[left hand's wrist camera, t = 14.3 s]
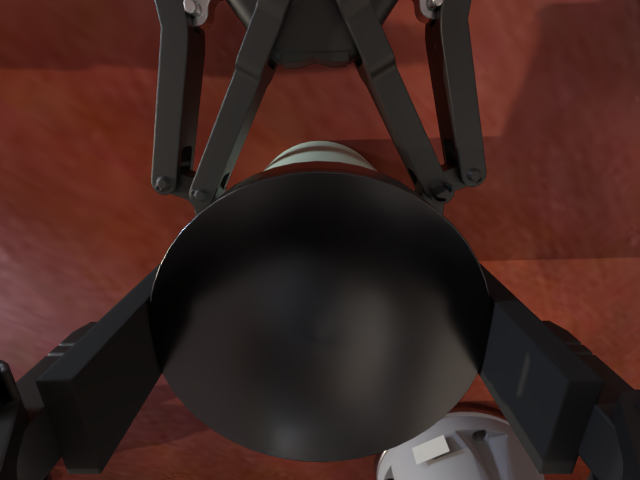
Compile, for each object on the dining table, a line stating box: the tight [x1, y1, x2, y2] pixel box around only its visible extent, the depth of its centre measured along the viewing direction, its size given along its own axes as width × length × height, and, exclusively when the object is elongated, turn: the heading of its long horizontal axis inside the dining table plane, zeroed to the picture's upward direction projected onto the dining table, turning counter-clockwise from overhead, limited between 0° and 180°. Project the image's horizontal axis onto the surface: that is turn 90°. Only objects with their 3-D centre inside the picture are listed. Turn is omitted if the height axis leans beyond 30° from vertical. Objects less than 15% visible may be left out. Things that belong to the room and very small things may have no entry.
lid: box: [149, 161, 491, 462], centre depth 11 cm, size 10×10×2 cm
